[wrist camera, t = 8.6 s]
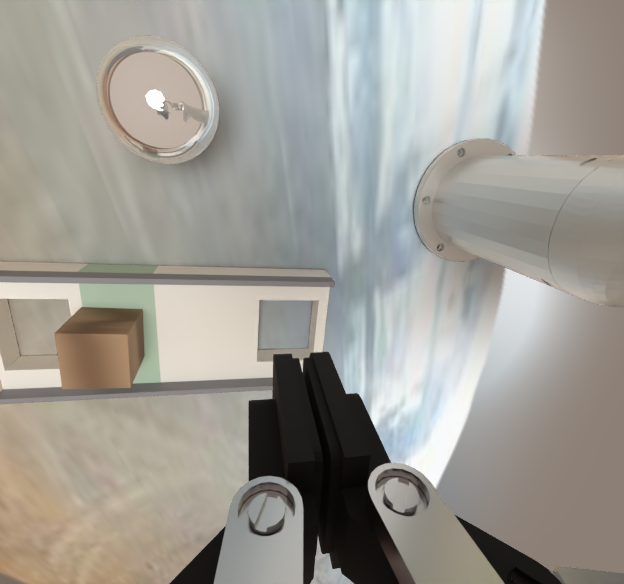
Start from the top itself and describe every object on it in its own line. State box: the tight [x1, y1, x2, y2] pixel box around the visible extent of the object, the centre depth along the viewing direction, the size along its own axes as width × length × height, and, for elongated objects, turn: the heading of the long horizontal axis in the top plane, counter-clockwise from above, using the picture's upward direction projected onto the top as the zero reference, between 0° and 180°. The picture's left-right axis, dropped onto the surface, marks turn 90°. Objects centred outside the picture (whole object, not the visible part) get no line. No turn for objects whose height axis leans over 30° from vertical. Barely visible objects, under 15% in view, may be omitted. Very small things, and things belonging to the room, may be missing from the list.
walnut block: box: [55, 307, 145, 389], centre depth 30 cm, size 5×5×5 cm
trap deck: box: [0, 261, 335, 404], centre depth 34 cm, size 30×12×4 cm, turn 85°
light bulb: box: [96, 35, 219, 164], centre depth 24 cm, size 7×7×12 cm
